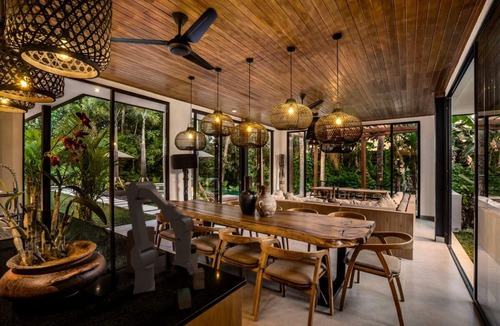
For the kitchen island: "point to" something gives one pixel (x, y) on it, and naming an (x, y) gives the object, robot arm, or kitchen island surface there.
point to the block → (132, 243)
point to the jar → (194, 257)
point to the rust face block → (198, 278)
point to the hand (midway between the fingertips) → (183, 284)
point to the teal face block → (184, 298)
